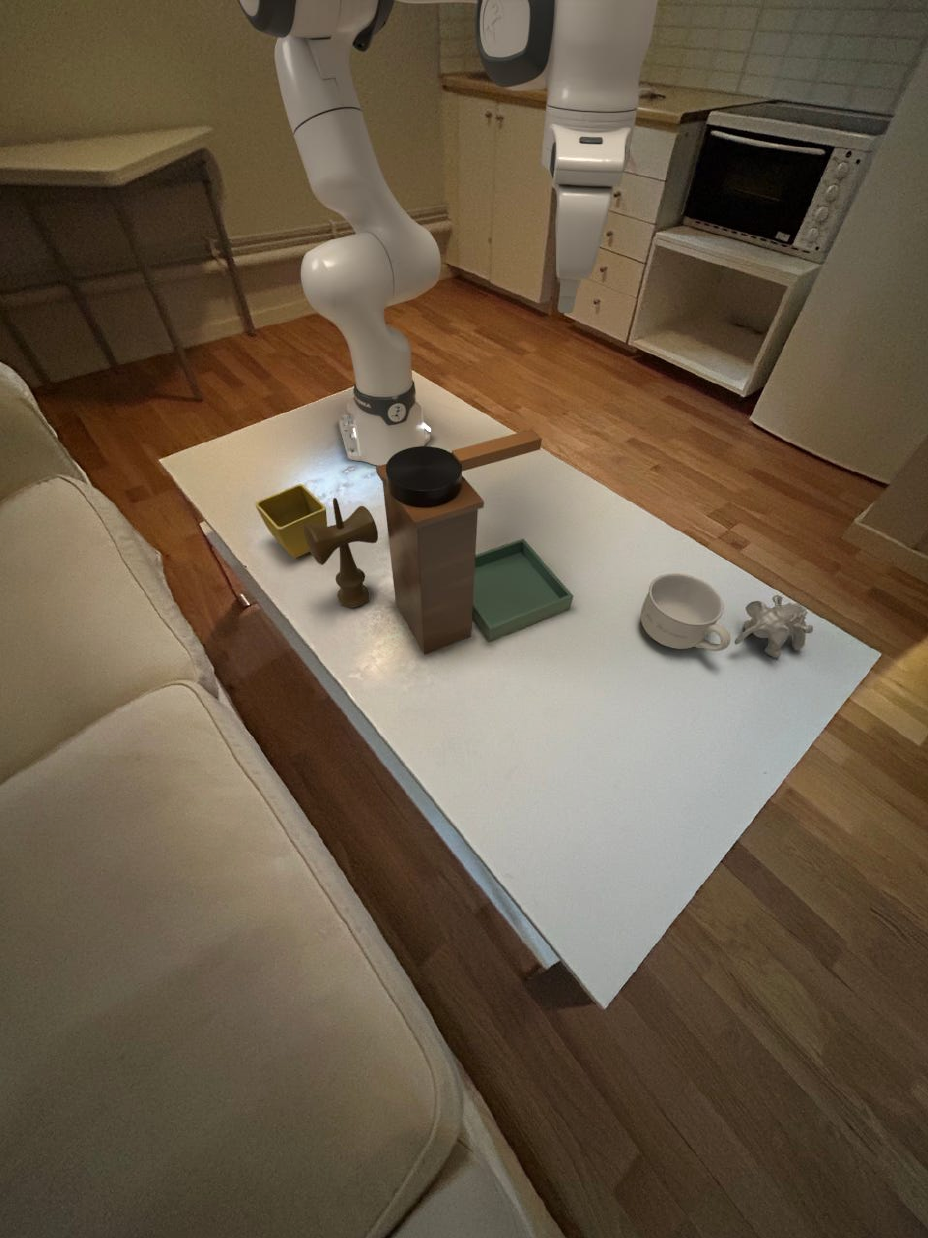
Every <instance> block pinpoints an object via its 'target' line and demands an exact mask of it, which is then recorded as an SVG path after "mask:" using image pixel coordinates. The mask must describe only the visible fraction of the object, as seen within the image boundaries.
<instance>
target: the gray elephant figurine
mask: <svg viewBox="0 0 928 1238" xmlns="http://www.w3.org/2000/svg"><path fill="white" fill-rule="evenodd" d="M771 599H772V602H773V603H774V606H773V607H768V606H767V605H766V604H765V603H764V602H763V601H760V600H754V601H751V602H749V603H748V604H747V605H746V606H745V611H746V613H747V615H748V616H749V617H750V618H751V619H748V620H745V621H744V622H743V628H744V631H743V632H741V633H740V634H739V635H738V636H737V637H736V638H735V639H734V641H733V643H734V645H740V644H741V643H742V642H743V641H744V639H745V638H747V637H748V636H749V635H750V634H752V633H753V635H754V636H755V637H757V638H760V639H766V638H767V639H768V646H766V648H765V649H764V652H765V653H766V655H768V656H770V657H772V658H775V659H778V658H780V657H781V655H782V646H783V644H785V642H786V641H787V639H788V637H789V636H791V635H792V643H791V645H792V646H791V647H792V648H793V649H794V650H795V651H799V650H801V649H802V648H804V647H805V644H806V639H807V637H806V636H807V635H809V634H812V633H813V631H814V629H813V628H814V626H813V625H812V624H809V625H807V623H806V621H805V620H806V618H807V617H806V616H807V615H808V611H807V608H806V607H804V606H802V605H801V604H800V603H799V602H796V603H791V602H788V603H785V604H783V603H782V602H783V599H784V597H783V596H782V595H780V594H776V595H773V596H772V597H771Z"/></svg>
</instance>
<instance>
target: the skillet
mask: <svg viewBox="0 0 928 1238" xmlns="http://www.w3.org/2000/svg"><path fill="white" fill-rule="evenodd" d="M542 440H543V438H542V437H541V436H540V435H539V434H538V433H537V432H536V431H535V430H534V429H533V428H532V429H527V430H523V431H520V432H516V433H512V434H509V435H505V436H500V437H498V438H494V439H489V440H487V441H486V440H485V441H483V442H479V443H475V444H472V445H468V446H464V447H460V448H457V449H452V450H451V451H449V450H447V449H444V448H441V447H437V446H429V445H425V446H418V447H411V448H407V449H404V450H402V451H399V452H398V453H396V454H394V455H393V456H392V457H391V458H390V459H389V460H388V462H387V464H386V478H387V488H388V491H389V493H390V494H391V495H392V497H393V498H395V499H396V500H397V501H399V502H401V503H403V504H406V505H409V506H414V507H435V506H439V505H442V504H445V503H447V502H449V501H451V500H453V499H454V498H455V497H456V496H457V495H458V494H459V492H460V490H461V487H462V476H463V472H465V471H469V470H472V469H477V468H479V467H483V466H486V465H491V464H495V463H496V462H497V463H498V462H501V461H504V460H508V459H511V458H515V457H519V456H522V455H526V454H530V453H532V452H536V451H540V450H541V448H542Z"/></svg>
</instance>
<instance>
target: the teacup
mask: <svg viewBox="0 0 928 1238" xmlns="http://www.w3.org/2000/svg"><path fill="white" fill-rule="evenodd" d="M724 610H725V605H724V600H723V599H722V597H721V595H720V594H719V593H718V591H717V590H716V589H715V587H713V586H712V585H711V584H709V583H708V582H706V581H704V580H703V579H701V578H698V577H696V576H693V575H690V574H686V573H677V572H674V573H673V572H671V573H666V574H661V575H659V576H657V577H656V578H654V579H653V580H652V582H650V585H649V588H648V592H647V594H646V596H645V597H644V601H643V603H642V607H641V611H640V621H641V624H642V627H643V629H644V630H645V632H646V633H647V634H648V635H649V637H650V638H651V639H653V640H654V641H656V642H657V643H659V644H660V645H663V646H665V647H668V648H672V649H677V650H682V649H683V650H685V649H690V648H693V647H695V648H696V649H705V650H708V651H712V652H720V651H724V650H726V649H727V648H728V647H729V646H730V644H731V635H730V632H729V631H728V630H727V628H726V627H724V626H723V625H720V624H716V623H717V622H718V621H719V620H720V618H721V617H722V616H723V614H724ZM712 633H715V634H717V636H718V637H719V639H720V643H714V642H711V641H709V640H707V639H706V638H708V636H709V635H710V634H712Z"/></svg>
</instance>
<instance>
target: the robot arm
mask: <svg viewBox="0 0 928 1238" xmlns="http://www.w3.org/2000/svg"><path fill="white" fill-rule="evenodd" d="M395 1H396V2H400V3H406V4H447V3H448V4H449V3H450V4H451V3H452V4H453V3H463V4H464V3H465V4H466V3H467V4H468V3H469V4H470V3H471V4H476V6H475V18H474V19H475V20H474V21H475V22H474V23H475V25H474V26H475V41H476V47H477V52H478V56H479V59H480V62H481V65H482V67H483V69H484V71H485V73H486V75H487V76H488V78H489V79H490V80H491V82H492V83H493V84H494V85H496V86H497V87H499V88H504V89H506V90H509V91H513V92H522V91H523V92H525V91H526V92H527V91H538V90H539V91H543V90H544V91H545V90H546V91H547V98H546V105H545V114H544V126H543V135H542V147H541V154H540V165H541V166H542V167H543V168H544V169H546V170H547V172H548V174H550V176H551V177H550V186H551V188H553V189H554V191H555V195H556V211H555V221H554V222H555V273H556V279H557V280H556V281H557V284H559V294H558V301H557V311H558V312H559V313H560V314H572V313H573V312H574V309H575V304H576V298H577V295H578V291H579V288H580V285H581V281H582V280H588V279H590V277H591V276H592V274H593V271H594V268H595V265H596V262H597V259H598V255H599V251H600V247H601V243H602V241H603V240H602V239H603V237H604V236H603V235H604V233H605V228H606V224H607V221H608V216H609V212H610V207H611V203H612V198H613V192H614V188H618V187H620V186H621V184H622V181H623V176H624V175H623V174H624V171H626V169H627V168H628V167H627V166H628V161H629V157H630V151H631V145H632V141H633V134H634V131H635V130H634V129H635V124H636V120H637V114H638V108H639V103H640V91H639V89H640V88H639V87H640V77H641V72H642V67H643V63H644V61H645V57H646V54H647V52H648V49H649V48H650V44H651V41H652V36H653V31H654V25H655V19H656V14H657V9H658V4H659V0H237V2H238V5H239V7H240V9H241V11H242V12H243V14H244V16H245V17H246V19H247V20H248V22H249V23H250V24H251V26H252V27H253V28H254V29H256V30H257V31H259V32H260V33H263V34H265V35H268V36H271V37H276V38H277V39H276V43H275V46H274V63H275V68H276V74H277V80H278V85H279V89H280V94H281V98H282V101H283V105H284V109H285V113H286V117H287V120H288V123H289V126H290V129H291V133H292V136H293V138H294V142H295V144H296V147H297V150H298V154H299V156H300V160H301V162H302V165H303V169H304V171H305V174H306V177H307V180H308V183H309V186H310V189H311V191H312V193H313V195H314V196H315V198H316V200H317V201H318V202H319V203H320V204H321V205H322V206H323V207H325V208H326V209H329V210H331V211H333V212H335V213H336V214H338V215H340V216H341V217H342V218H343V219H345V221H347V223H348V224H349V225H350V226H351V228H352V229H353V231H354V233H355V234H351V235H350V234H349V235H346V236H342V237H338V238H333V239H329V240H327V241H325V242H323V243H322V244H318V245H317V246H316V247H314V248H312V249H311V250H308V251H307V252H306V253H305V254H304V256H303V258H302V261H301V265H300V283H301V287H302V291H303V294H304V296H305V298H306V300H307V302H308V303H309V304H310V306H311V307H312V308H313V310H314V311H315V312H317V313H318V315H320V316H321V317H322V318H324V319H326V320H328V321H329V322H331V323H333V324H334V325H335V327H337V328H338V329H339V331H340V332H341V333H342V335H343V337H344V339H345V341H346V343H347V346H348V350H349V354H350V358H351V364H352V368H353V376H354V385H353V392H352V393H353V396H352V398H351V399H349V400H348V401H347V403H346V411H347V413H342V414H341V419H340V420H339V422H338V425H339V431H340V434H341V436H342V441H343V445H344V449H345V452H346V453H345V454H346V457H347V459H348V460H350V461H355V462H364V463H368V464H370V465H373V466H381V465H384V464H387V462H388V460H389V459H390V458H391V457H392V456H393V455H394V454H396V453H398V452H399V451H402V450H404V449H407V448H411V447H418V446H426V445H427V444H428V443H429V442H430V441H431V434H430V432H432V428H431V427H430V426H428V425H427V424H426V423H425V422H424V415H423V407H422V405H421V404H420V403H419V402H417V399H416V395H417V392H416V390H417V389H416V387H415V386H416V385H415V381H414V379H413V372H412V371H413V367H412V347H411V344H410V342H409V340H408V339H407V337H406V335H405V334H404V333H403V332H402V331H401V330H399V329H397V328H395V327H393V326H390V325H389V324H386V323H387V322H386V320H385V309H386V308H388V307H391V306H394V305H398V304H401V303H405V302H408V301H412V300H415V299H416V298H418V297H420V296H422V295H423V294H425V293H426V292H428V291H430V290H431V289H432V288H434V287H435V286H436V285H437V283H438V281H439V278H440V276H441V275H440V274H441V269H442V259H441V253H440V248H439V245H438V242H437V241H436V240H435V237H434V236H433V235H432V233H431V232H430V231H429V230H428V229H427V228H426V227H424V226H422V225H421V224H419V223H417V222H416V220H414V219H413V218H412V217H411V216H410V215H409V214H408V213H407V212H406V211H405V210H404V208H403V207H402V205H401V204H400V203H399V201H398V199H396V197H395V195H394V194H393V192H392V191H391V189H390V187H389V185H388V184H387V182H386V180H385V178H384V174H383V173H382V170H381V168H380V165H379V161H378V159H377V156H376V153H375V150H374V147H373V144H372V140H371V136H370V134H369V130H368V127H367V123H366V120H365V117H364V113H363V110H362V107H361V103H360V101H359V97H358V94H357V91H356V88H355V85H354V81H353V77H352V72H351V65H350V63H351V61H350V59H351V51H352V47H353V48H355V49H356V50H357V51H358V52H363V53H365V52H366V51H368V50H369V48H370V47H371V44H372V42H373V39H374V37H375V36H376V35H378V33H379V32H380V31H381V30H382V29H383V28H384V26H385V25H386V23H387V22H388V20H389V18H390V16H391V13H392V11H393V8H394V5H395Z"/></svg>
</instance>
